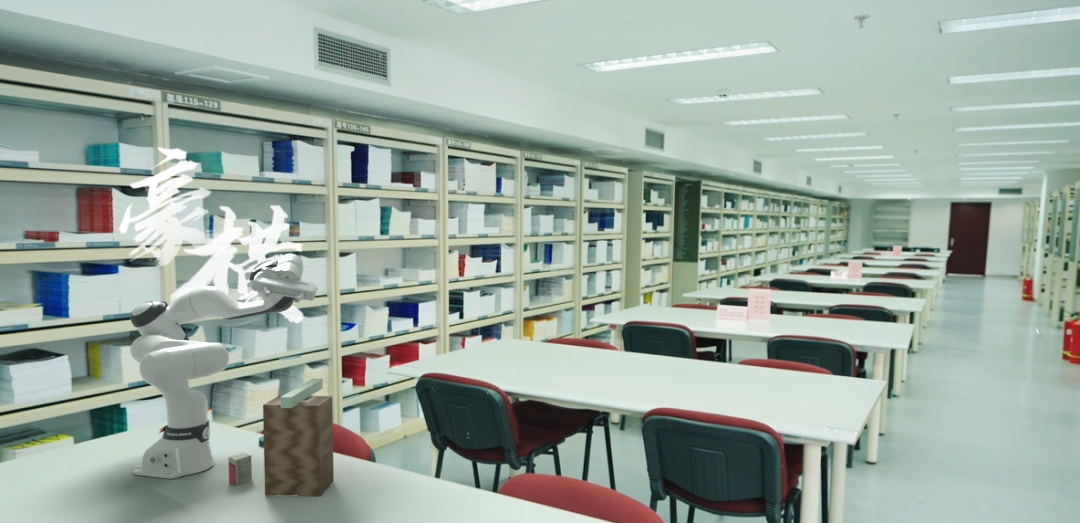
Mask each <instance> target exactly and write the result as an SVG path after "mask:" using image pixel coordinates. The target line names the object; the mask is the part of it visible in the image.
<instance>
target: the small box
mask: <svg viewBox="0 0 1080 523" xmlns="http://www.w3.org/2000/svg"><path fill="white" fill-rule="evenodd" d="M227 462H228V482H229V484H232V485H234V486H237V487H238V486H240V485H243V484H245V483H249V482H251V481H253V472H252V471H253V469H252V468H253V467H252V466H253V463H252V455H251V454H249V453H246V452H241V453H237V454H235V455H231V456H228V461H227ZM248 481H249V482H248Z"/></svg>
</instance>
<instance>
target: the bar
mask: <svg viewBox="0 0 1080 523" xmlns="http://www.w3.org/2000/svg"><path fill="white" fill-rule="evenodd" d="M323 385H324V383H323V378H312V379H310V380H308V381H306V382H305V383H303V384H301V385H299V386H298V387H295V388H294V389H292V390H291V391H289V392H287V393H286V394H285V393H284V394H282V395H281V396H282V397H280V400H281V408H292V407H294V406H295V405H297V404H299V403H300V402H302V401H303V400H305V399H306V398H308V397H310V396H314V394H316V393H318V392H319V391H321V390H322V389H323V388H324V387H323Z"/></svg>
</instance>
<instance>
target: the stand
mask: <svg viewBox="0 0 1080 523" xmlns="http://www.w3.org/2000/svg"><path fill="white" fill-rule="evenodd" d="M282 396H283V395H277V396H276V397H274V398H272V399H271V400H269V401H267V402H266V403H264V404H263V405H262V415H263V418H262V419H263V426H262V427H263V436H264V447H263V458H264V459H263V462H264V463H263V464H264V466H263V467H264V468H263V469H264V495H265V496H276V495H297V496H296V497H319V496H320V497H322V496H323V495H324V494H325V493H326V491H327V490H328V489H329V488H330V487H331V486H332V485H333V484H334V483H333V482H335V480H334V478H335V477H334V471H335V470H334V432H333V431H334V430H333V429H334V426H333V423H334V421H333V419H334V418H333V417H334V416H333V413H334V412H333V396H332V395H311V396H310V397H308V398H306V399H305V400H303V401H302V402H300V403H299V404H297V405H295V406H294V407H292V408H281V400H280V397H282ZM332 483H333V484H332ZM331 484H332V485H331ZM330 485H331V486H330Z"/></svg>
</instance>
